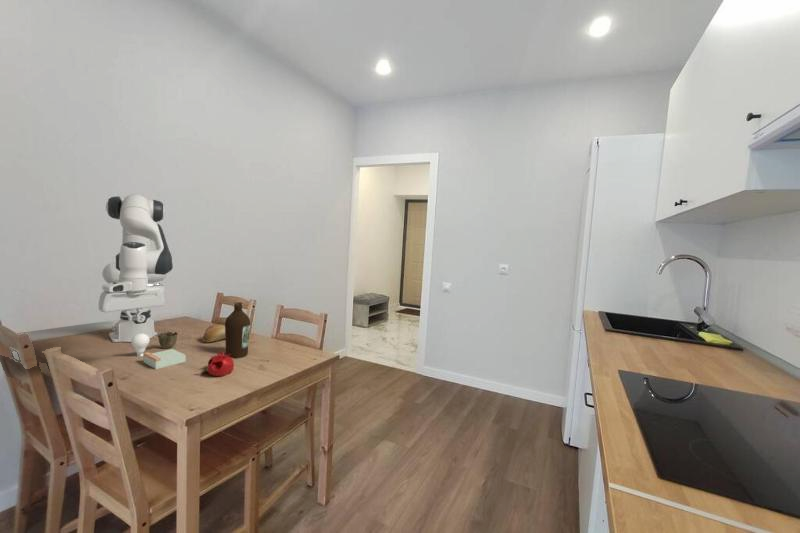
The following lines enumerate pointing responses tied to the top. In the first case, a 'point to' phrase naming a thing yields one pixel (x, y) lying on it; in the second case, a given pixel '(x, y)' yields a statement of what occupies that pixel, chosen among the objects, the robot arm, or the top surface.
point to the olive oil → (237, 332)
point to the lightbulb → (140, 343)
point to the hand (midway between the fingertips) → (133, 320)
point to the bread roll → (214, 333)
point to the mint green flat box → (164, 358)
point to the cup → (167, 339)
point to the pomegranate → (220, 365)
